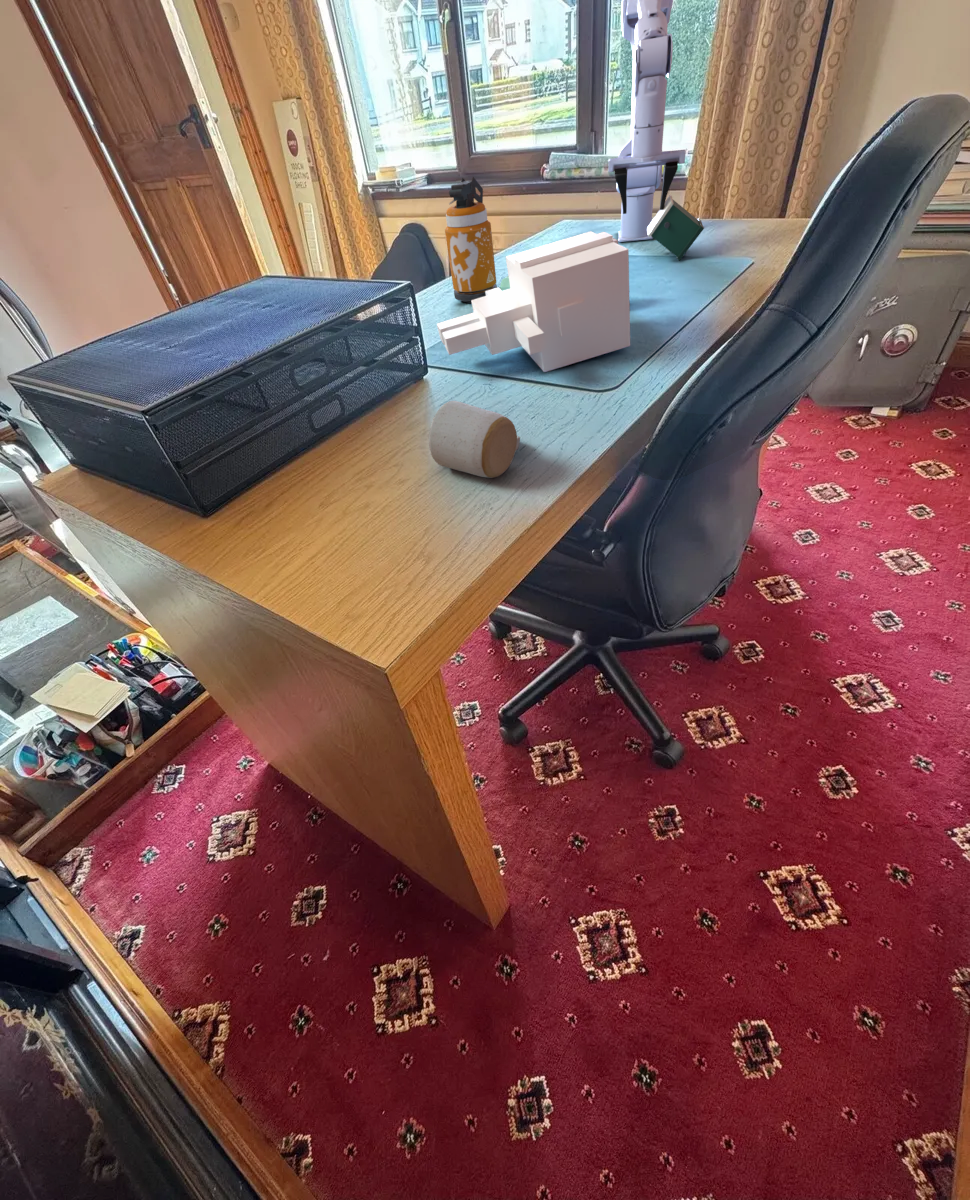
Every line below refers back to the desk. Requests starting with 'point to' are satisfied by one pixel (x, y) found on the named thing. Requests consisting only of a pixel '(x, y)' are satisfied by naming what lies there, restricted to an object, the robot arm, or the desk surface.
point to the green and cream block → (675, 228)
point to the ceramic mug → (472, 439)
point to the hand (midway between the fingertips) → (643, 210)
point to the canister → (469, 243)
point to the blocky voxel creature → (553, 304)
